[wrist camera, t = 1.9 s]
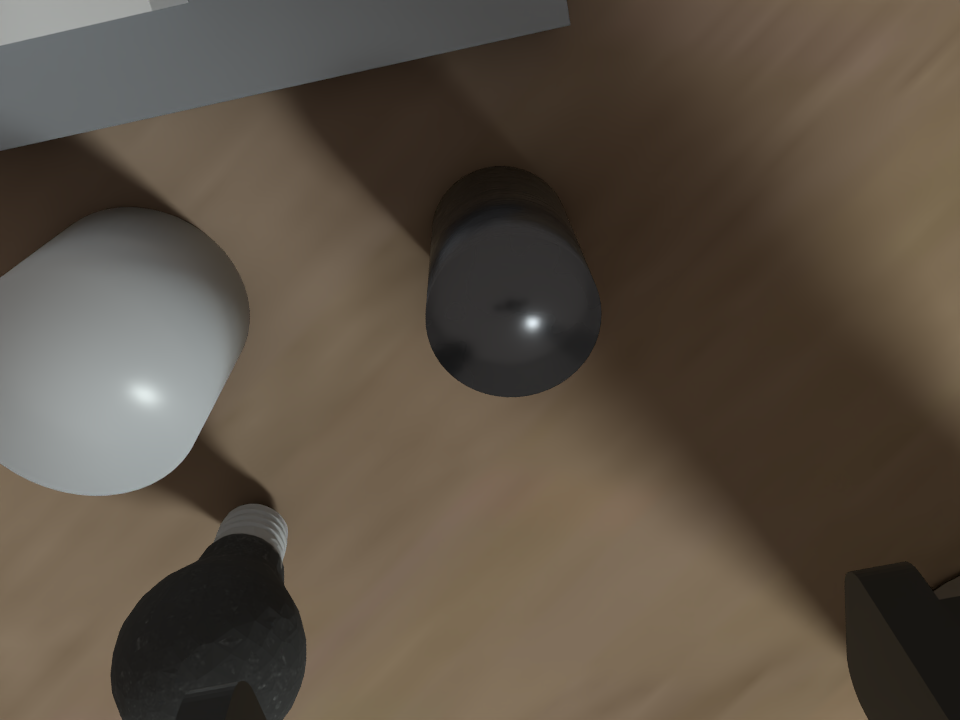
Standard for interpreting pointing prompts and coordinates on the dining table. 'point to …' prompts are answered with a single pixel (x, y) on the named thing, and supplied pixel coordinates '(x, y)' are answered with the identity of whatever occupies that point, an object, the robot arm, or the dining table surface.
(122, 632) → the light bulb
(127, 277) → the cylinder
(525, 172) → the dark grey domed cylinder
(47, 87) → the socket block
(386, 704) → the dining table surface
